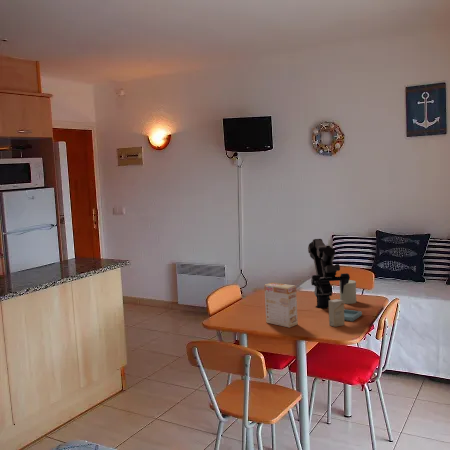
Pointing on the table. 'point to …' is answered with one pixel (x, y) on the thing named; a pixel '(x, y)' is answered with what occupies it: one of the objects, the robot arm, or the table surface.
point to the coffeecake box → (281, 304)
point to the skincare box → (336, 312)
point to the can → (349, 292)
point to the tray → (351, 315)
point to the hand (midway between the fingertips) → (333, 293)
